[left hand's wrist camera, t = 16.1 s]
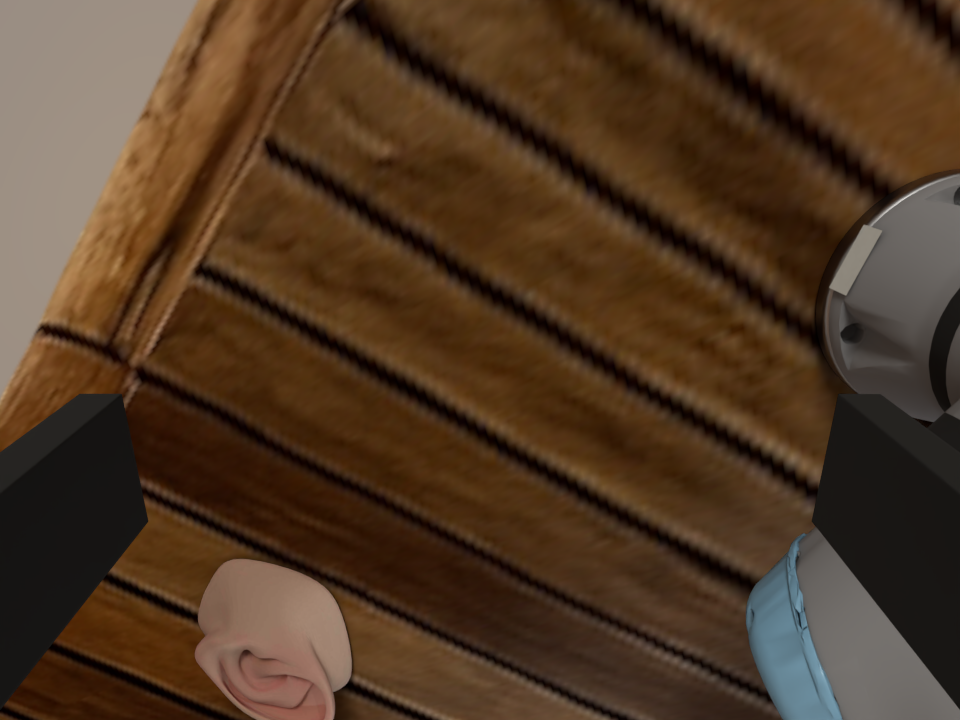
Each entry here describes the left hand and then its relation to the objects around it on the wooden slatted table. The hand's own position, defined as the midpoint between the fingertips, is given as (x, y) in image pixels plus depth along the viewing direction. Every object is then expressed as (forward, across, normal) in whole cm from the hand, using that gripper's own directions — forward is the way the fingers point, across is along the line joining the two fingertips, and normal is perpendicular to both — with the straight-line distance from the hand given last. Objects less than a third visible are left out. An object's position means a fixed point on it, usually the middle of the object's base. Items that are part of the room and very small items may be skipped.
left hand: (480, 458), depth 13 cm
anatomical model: (+30, -16, -32) cm, 46 cm away
